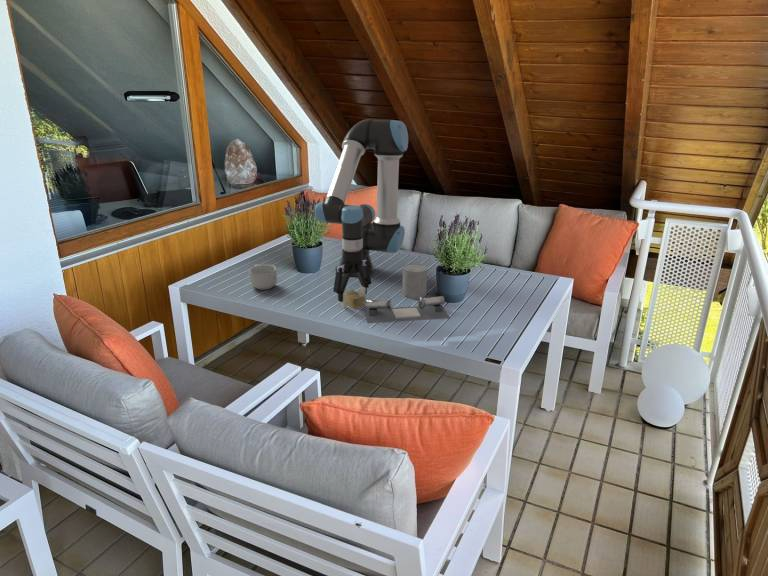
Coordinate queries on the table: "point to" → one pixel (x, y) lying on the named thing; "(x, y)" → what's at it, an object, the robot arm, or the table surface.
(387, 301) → the shaft
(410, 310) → the off-white flat plate
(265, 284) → the teacup
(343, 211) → the robot arm
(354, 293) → the coupler
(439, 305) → the shaft
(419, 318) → the board
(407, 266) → the speckled tin can
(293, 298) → the table surface
